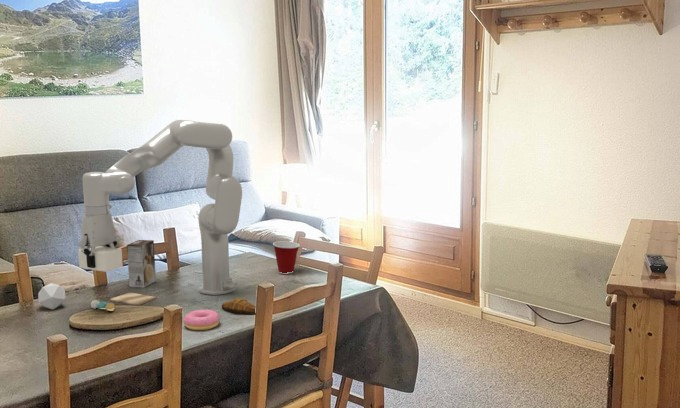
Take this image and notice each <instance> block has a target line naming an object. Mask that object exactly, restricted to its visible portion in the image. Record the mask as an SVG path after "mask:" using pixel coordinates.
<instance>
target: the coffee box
mask: <svg viewBox="0 0 680 408" xmlns="http://www.w3.org/2000/svg"><path fill="white" fill-rule="evenodd" d="M126 250H127V251H126V252H127V253H126V254H127V268H128V283H129V287H130V288H143V289H144V288H147V287H148V286H149V285H152V284H153V283H155V282H157V278H156V260H155V259H156V258H155V240H151V239H144V240H143V239H138V240H136V241H134V242H130V243H129V244H126Z"/></svg>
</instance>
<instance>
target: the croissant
mask: <svg viewBox="0 0 680 408" xmlns="http://www.w3.org/2000/svg"><path fill="white" fill-rule="evenodd" d="M255 307H256V305H254V304H253V303H252V302H249V301H248V300H247V299H244V298H242V297H237V298H234V299H232V300H228V301H225V302H224V303H222V304H221V309H222V310H224V311H226V312H230V313H234V314H241V315H243V314H244V315H255Z"/></svg>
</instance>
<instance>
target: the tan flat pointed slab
mask: <svg viewBox="0 0 680 408" xmlns="http://www.w3.org/2000/svg"><path fill="white" fill-rule="evenodd" d="M157 299H158V297H157V296H153V295H148V294H147V295H146V294H140V293H135V292H126V293H124V294H120V295H118V296H115V297H112V298H111V297H110V299H109V301H111V302H118V303H122V304H126V305H132V306H133V305H134V306H140V305H144V304H146V303H149V302H151V301H154V300H157Z"/></svg>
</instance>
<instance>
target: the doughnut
mask: <svg viewBox="0 0 680 408" xmlns="http://www.w3.org/2000/svg"><path fill="white" fill-rule="evenodd" d="M183 318H184V319H183V323H184V326H185V327H186V328H188V329H189V330H192V331H207V330H210V329H214V328H216V327H217V326H218V325H219V323H220V320H221V316H220V314H219V312H217V311H215V310H212V309H198V310H197V309H196V310H192V311H190V312H188V313H186V314H185V316H184V317H183Z"/></svg>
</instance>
